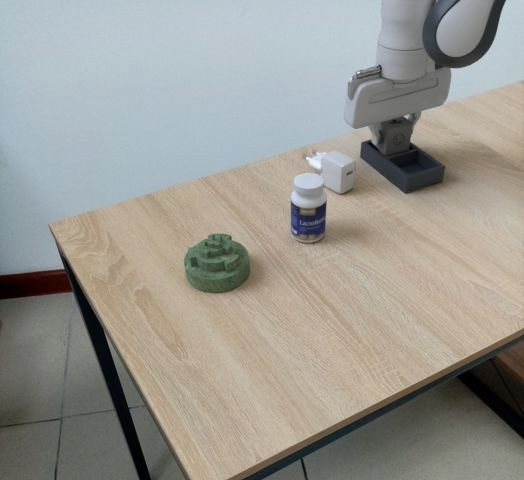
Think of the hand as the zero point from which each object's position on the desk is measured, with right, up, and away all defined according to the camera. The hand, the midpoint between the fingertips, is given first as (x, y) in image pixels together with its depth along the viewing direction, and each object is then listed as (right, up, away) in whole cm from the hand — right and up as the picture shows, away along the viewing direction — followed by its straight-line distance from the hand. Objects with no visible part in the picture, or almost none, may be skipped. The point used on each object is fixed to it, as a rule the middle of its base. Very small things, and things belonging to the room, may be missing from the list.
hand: (391, 138), depth 100 cm
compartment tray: (+2, -5, +1) cm, 6 cm away
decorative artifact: (-31, -28, -17) cm, 45 cm away
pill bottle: (-17, -21, -11) cm, 29 cm away
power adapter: (-12, -8, 0) cm, 15 cm away
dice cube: (0, -1, +1) cm, 2 cm away
